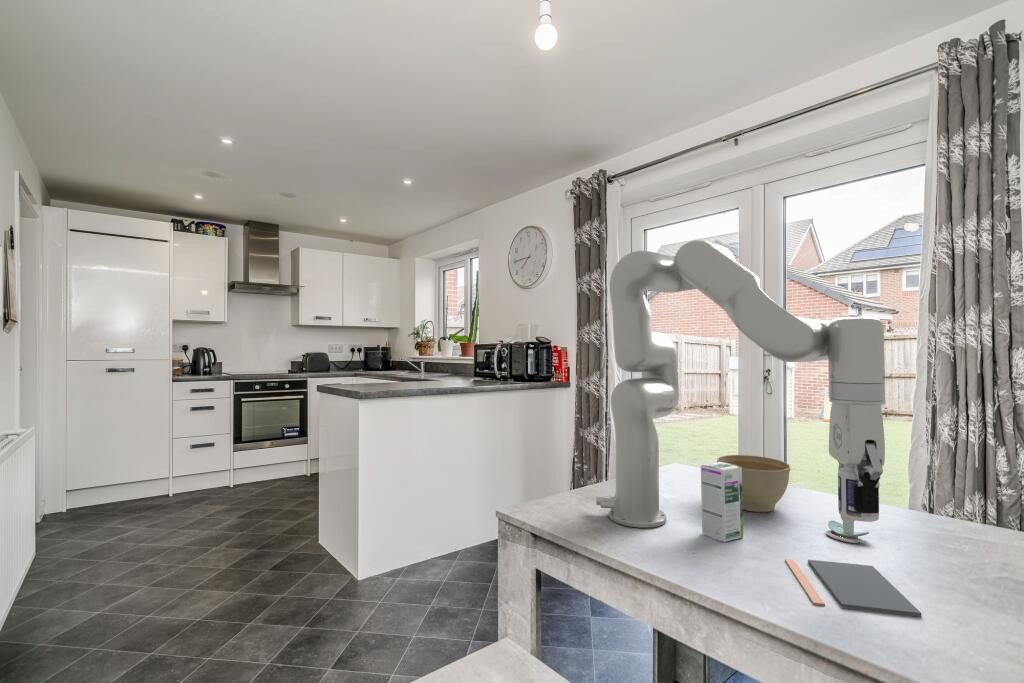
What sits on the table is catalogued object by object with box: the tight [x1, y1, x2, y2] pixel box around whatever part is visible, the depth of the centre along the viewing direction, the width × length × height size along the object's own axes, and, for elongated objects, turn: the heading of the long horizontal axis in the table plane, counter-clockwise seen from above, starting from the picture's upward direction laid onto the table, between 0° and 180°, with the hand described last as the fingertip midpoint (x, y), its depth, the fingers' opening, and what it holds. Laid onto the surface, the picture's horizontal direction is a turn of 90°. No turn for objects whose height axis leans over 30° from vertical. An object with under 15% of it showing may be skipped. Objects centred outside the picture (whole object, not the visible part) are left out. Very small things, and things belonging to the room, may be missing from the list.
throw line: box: [784, 558, 826, 607], centre depth 82 cm, size 2×16×1 cm, turn 165°
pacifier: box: [825, 514, 870, 544], centre depth 101 cm, size 7×6×6 cm
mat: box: [807, 559, 922, 618], centre depth 80 cm, size 10×16×1 cm, turn 165°
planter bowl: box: [716, 454, 791, 513], centre depth 121 cm, size 16×16×11 cm
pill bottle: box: [837, 462, 880, 523], centre depth 80 cm, size 5×5×10 cm
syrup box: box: [700, 462, 744, 543], centre depth 102 cm, size 6×6×14 cm
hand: (858, 504), depth 80 cm, fingers closed on pill bottle, 5 cm apart
